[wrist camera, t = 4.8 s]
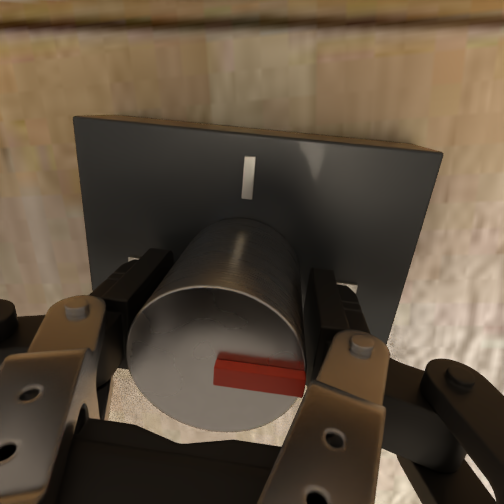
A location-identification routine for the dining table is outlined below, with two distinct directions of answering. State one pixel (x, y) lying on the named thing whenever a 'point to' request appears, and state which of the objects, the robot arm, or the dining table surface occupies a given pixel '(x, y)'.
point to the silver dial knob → (224, 331)
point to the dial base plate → (257, 198)
